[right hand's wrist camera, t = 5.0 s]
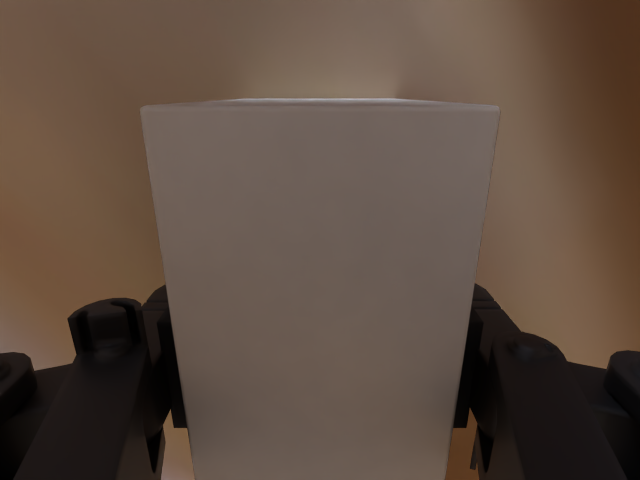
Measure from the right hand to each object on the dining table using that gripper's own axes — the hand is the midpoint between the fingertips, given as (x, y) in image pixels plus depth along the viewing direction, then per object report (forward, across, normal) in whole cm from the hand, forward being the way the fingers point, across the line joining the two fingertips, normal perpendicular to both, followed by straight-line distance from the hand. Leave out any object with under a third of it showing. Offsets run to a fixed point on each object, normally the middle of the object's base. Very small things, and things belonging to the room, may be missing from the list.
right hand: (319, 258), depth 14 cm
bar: (+1, 0, -23) cm, 23 cm away
